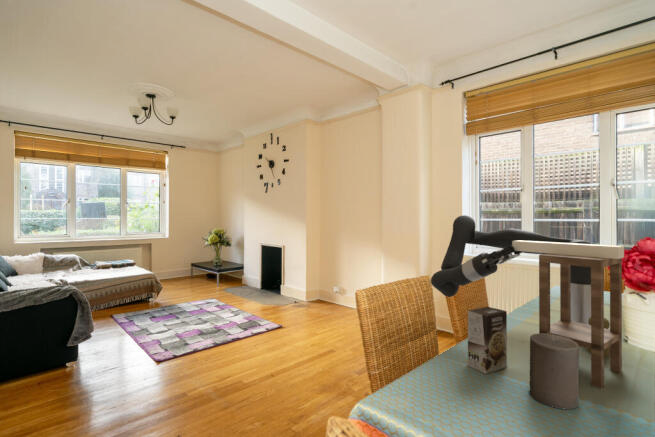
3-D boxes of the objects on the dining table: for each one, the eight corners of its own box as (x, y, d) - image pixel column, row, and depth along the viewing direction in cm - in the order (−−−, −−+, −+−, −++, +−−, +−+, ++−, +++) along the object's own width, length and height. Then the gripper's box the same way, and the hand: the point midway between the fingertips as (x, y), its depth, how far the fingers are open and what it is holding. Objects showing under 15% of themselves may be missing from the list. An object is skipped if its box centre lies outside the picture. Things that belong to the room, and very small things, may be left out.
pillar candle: (520, 392, 81) (520, 331, 81) (546, 383, 85) (546, 325, 84) (561, 414, 72) (562, 346, 72) (588, 403, 76) (589, 339, 76)
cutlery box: (519, 249, 107) (519, 240, 107) (623, 257, 86) (623, 245, 86) (512, 250, 105) (512, 241, 105) (618, 258, 83) (618, 247, 83)
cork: (616, 357, 100) (616, 320, 100) (593, 355, 101) (593, 319, 101) (603, 349, 106) (603, 314, 106) (582, 347, 107) (582, 314, 107)
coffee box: (486, 374, 90) (486, 315, 90) (466, 365, 96) (466, 309, 95) (508, 367, 94) (507, 310, 94) (487, 358, 100) (487, 305, 100)
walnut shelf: (563, 353, 103) (562, 250, 102) (621, 371, 91) (621, 255, 91) (539, 367, 94) (539, 254, 93) (601, 388, 82) (600, 260, 82)
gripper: (462, 259, 114) (502, 237, 103) (485, 255, 122) (525, 235, 111) (472, 279, 111) (515, 259, 100) (495, 274, 119) (537, 256, 108)
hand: (520, 247), depth 105 cm, fingers open, 8 cm apart
